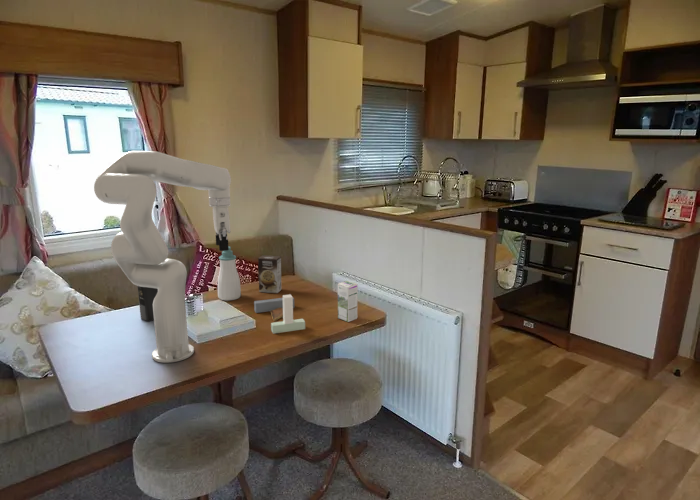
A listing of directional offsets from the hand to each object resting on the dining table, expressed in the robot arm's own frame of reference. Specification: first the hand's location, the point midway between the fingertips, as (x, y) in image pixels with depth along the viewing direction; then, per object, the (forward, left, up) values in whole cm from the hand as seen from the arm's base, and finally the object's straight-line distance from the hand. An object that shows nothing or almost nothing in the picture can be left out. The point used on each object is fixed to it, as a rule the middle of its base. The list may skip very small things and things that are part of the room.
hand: (222, 247), depth 170 cm
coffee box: (+28, -24, -28) cm, 47 cm away
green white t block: (-19, -20, -28) cm, 39 cm away
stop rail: (+4, -20, -28) cm, 35 cm away
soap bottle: (+25, -5, -28) cm, 38 cm away
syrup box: (-17, -44, -28) cm, 55 cm away
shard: (-4, -21, -29) cm, 36 cm away
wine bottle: (+11, +27, -28) cm, 41 cm away
